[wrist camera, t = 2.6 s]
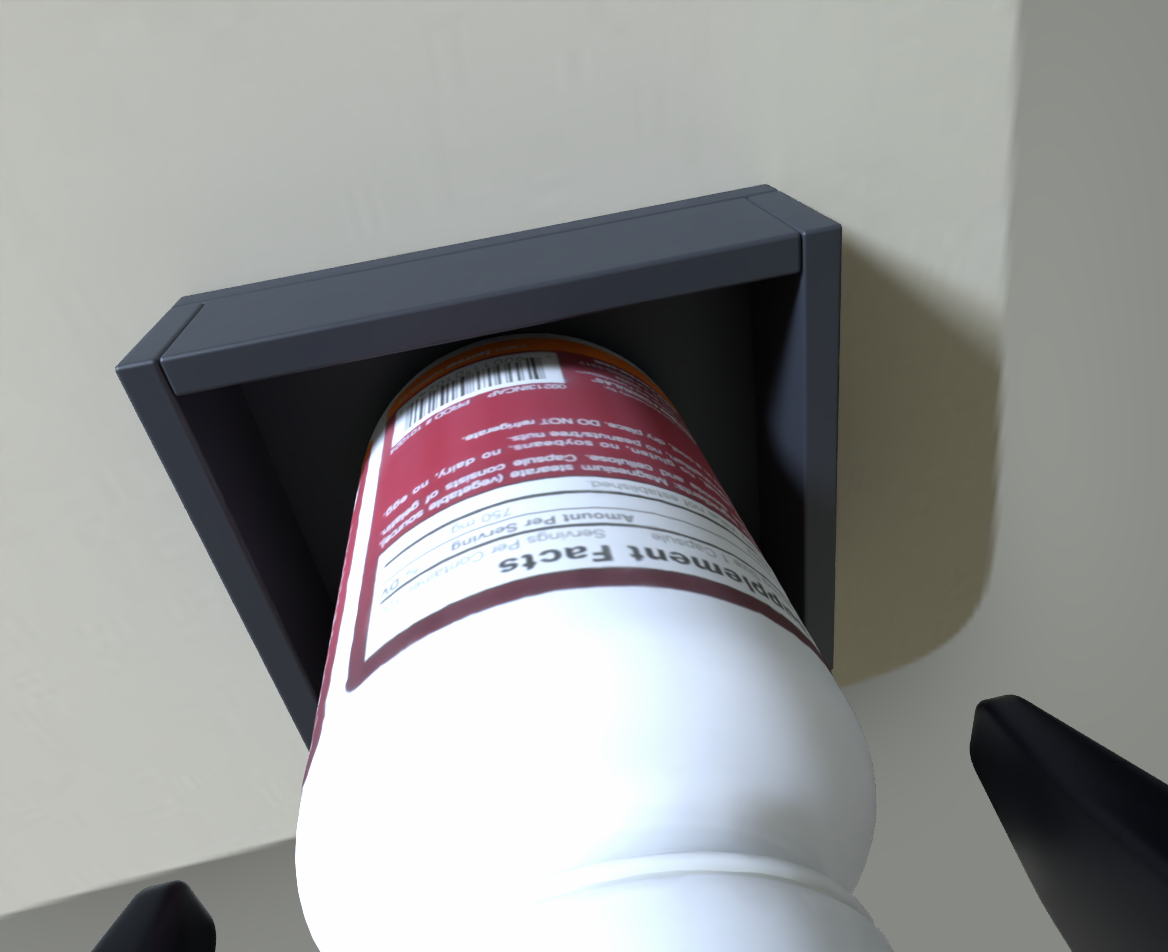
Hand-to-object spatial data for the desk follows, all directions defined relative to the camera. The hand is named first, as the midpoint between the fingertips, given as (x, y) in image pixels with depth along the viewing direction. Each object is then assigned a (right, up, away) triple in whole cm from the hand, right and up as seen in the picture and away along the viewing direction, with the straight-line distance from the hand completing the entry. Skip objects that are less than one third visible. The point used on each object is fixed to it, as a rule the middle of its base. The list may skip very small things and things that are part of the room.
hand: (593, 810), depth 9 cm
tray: (-1, +4, +7) cm, 8 cm away
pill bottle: (-1, +4, +6) cm, 8 cm away
